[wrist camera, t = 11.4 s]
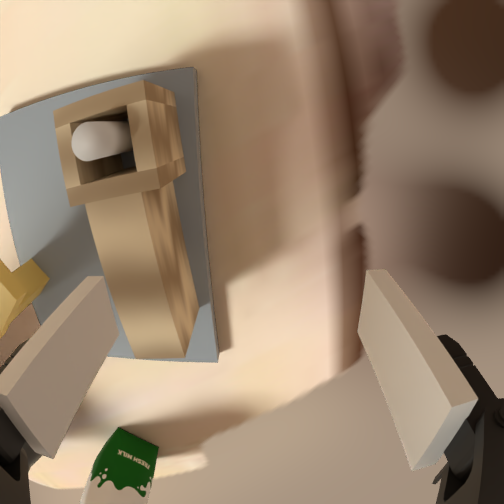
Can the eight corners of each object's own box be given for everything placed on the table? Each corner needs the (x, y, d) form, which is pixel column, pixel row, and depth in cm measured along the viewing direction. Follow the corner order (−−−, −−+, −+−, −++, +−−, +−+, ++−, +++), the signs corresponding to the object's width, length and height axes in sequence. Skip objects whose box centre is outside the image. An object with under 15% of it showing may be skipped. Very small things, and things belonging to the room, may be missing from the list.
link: (101, 111, 22) (52, 110, 15) (174, 92, 21) (143, 79, 15) (147, 311, 28) (122, 358, 22) (212, 306, 28) (201, 357, 22)
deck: (54, 341, 32) (12, 399, 22) (4, 117, 22) (-72, 128, 12) (219, 353, 32) (207, 435, 22) (196, 70, 22) (156, 33, 12)
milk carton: (166, 447, 40) (142, 559, 21) (145, 463, 43) (121, 559, 24) (114, 421, 38) (74, 534, 19) (99, 441, 41) (64, 536, 22)
